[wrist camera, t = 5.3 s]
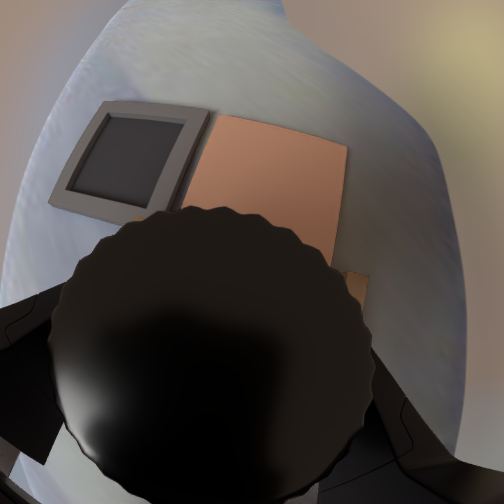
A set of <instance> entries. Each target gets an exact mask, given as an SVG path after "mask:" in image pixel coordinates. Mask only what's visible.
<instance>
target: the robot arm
mask: <svg viewBox="0 0 504 504" xmlns="http://www.w3.org/2000/svg"><path fill="white" fill-rule="evenodd" d="M65 283H66V282H64V283H62V284H59V285H57V286H55V287H52V288H50V289H48V290H45V291H43V292H41V293H39V294H38V295H37V294H36V295H34V296H31V297H29V298H27V299H24V300H22V301H19V302H17V303H14V304H12V305H9V306H6V307H3V308H1V309H0V504H41V503H40V502H38V501H37V500H36V499H34V498H33V497H32V496H30V495H29V494H28V493H26V492H25V491H24V490H23V489H21V488H20V487H19V486H18V485H17V484H15V483H14V482H13V481H12V480H11V479H9V478H8V477H9V475H10V473H11V471H12V469H13V466H14V464H15V462H16V460H17V458H18V456H19V454H20V452H23V453H24V454H26V455H27V456H29V457H30V458H32V459H33V460H35V461H37V462H38V463H40V464H42V465H43V466H44V465H45V463H46V461H47V458H48V456H49V453H50V451H51V449H52V446H53V444H54V442H55V440H56V437H57V435H58V433H59V431H60V429H61V427H62V424H63V422H64V419H63V416H62V414H61V412H60V410H59V409H58V407H57V405H56V404H55V402H54V395H53V386H52V383H51V381H50V378H49V375H48V365H49V359H50V358H49V354H48V348H47V340H48V337H49V335H50V333H51V330H52V328H51V318H52V312H53V311H54V309H55V307H56V306H57V305H58V303H59V301H60V295H61V290H62V286H63V285H64V284H65ZM370 353H371V355H372V357H373V360H374V363H375V366H376V368H375V372H374V375H373V378H372V381H371V389H372V394H373V399H372V401H371V403H370V405H369V407H368V408H367V410H366V412H365V416H364V420H365V421H364V427H363V429H362V430H361V431H360V433H359V434H358V435H357V436H356V437H355V438H354V440H353V441H352V444H351V449H350V451H349V454H348V455H346V456H345V457H344V458H343V459H342V460H341V461H339V462H338V463H337V464H336V465H335V466H334V468H333V470H332V472H331V473H330V475H329V476H328V477H326V478H325V479H323V480H321V481H319V489H318V497H317V504H504V472H500V471H496V470H492V469H487V468H483V467H480V466H476V465H473V464H469V463H466V462H463V461H460V460H458V459H457V458H455V457H454V456H453V455H451V454H450V453H449V451H448V450H447V449H446V448H445V447H444V445H443V444H442V443H441V442H440V440H439V439H438V438H437V437H436V435H435V434H434V433H433V432H432V430H431V429H430V428H429V427H428V425H427V424H426V423H425V422H424V420H423V419H422V418H421V416H420V415H419V414H418V412H417V411H416V409H415V408H414V407H413V405H412V404H411V402H410V401H409V399H408V398H407V397H406V395H405V394H404V392H403V391H402V389H401V388H400V387H399V385H398V384H397V382H396V381H395V379H394V378H393V377H392V375H391V374H390V372H389V371H388V370H387V368H386V367H385V365H384V364H383V363H382V361H381V360H380V358H379V357H378V356H377V354H376V353H375V352H374V350H373V349H372V347H371V351H370Z"/></svg>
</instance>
